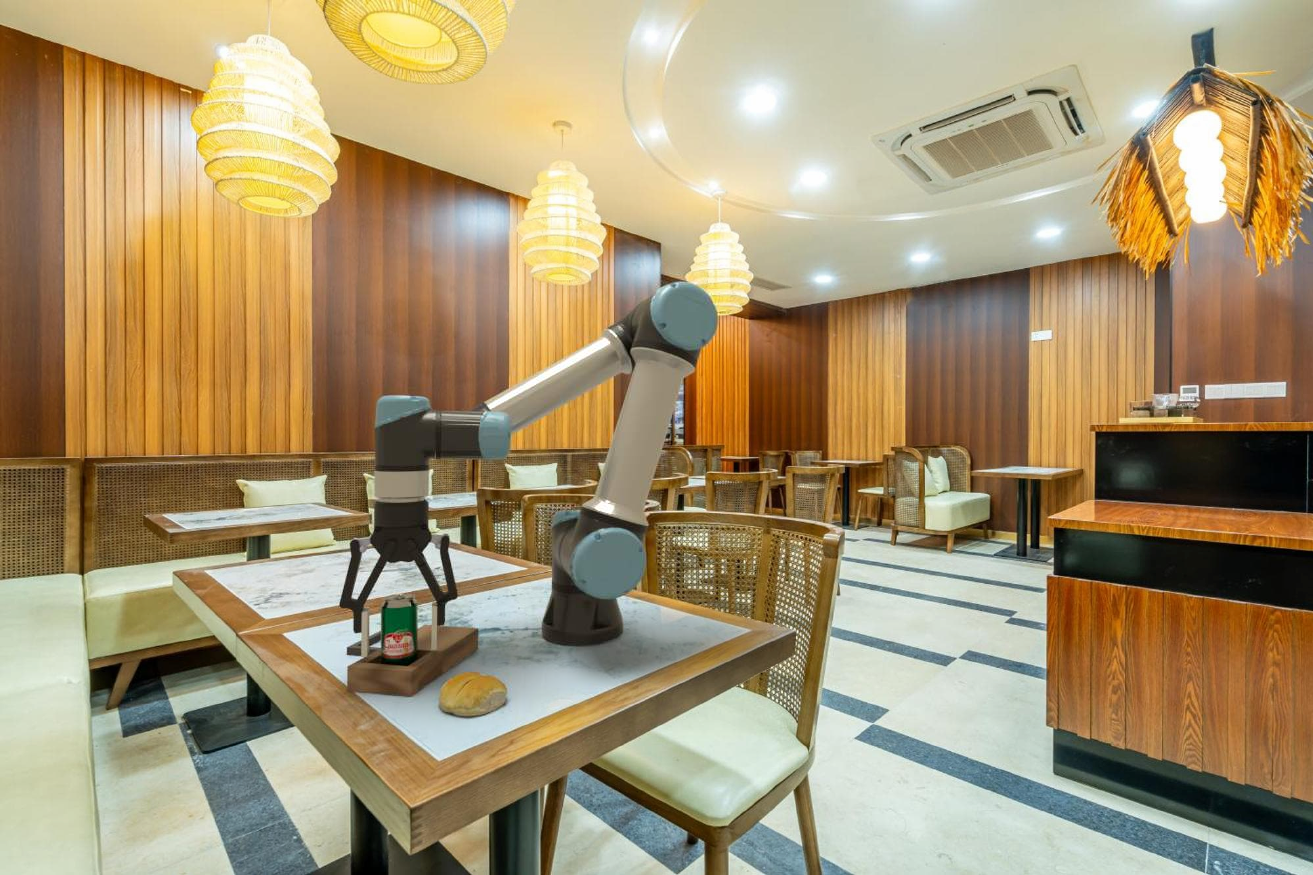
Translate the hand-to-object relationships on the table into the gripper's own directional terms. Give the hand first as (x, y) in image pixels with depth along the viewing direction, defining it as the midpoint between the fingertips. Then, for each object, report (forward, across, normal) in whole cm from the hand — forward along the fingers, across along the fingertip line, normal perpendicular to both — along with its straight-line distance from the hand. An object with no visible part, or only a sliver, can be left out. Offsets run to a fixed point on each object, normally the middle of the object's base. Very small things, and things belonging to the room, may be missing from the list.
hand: (400, 650), depth 90 cm
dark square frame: (+4, +3, -16) cm, 17 cm away
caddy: (+4, -2, -4) cm, 7 cm away
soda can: (+4, 0, 0) cm, 4 cm away
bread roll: (+5, -10, +12) cm, 16 cm away
